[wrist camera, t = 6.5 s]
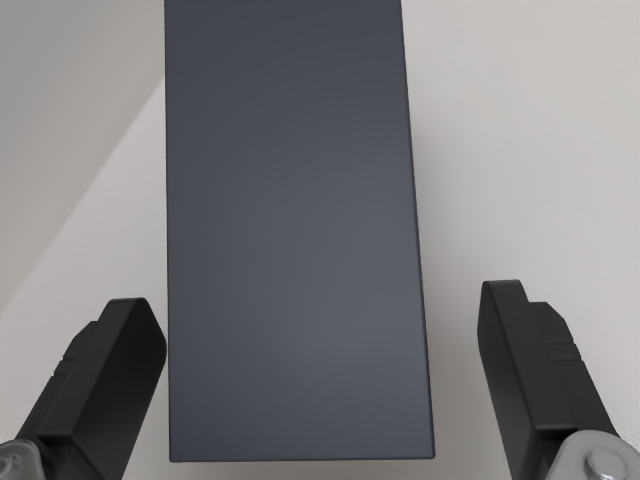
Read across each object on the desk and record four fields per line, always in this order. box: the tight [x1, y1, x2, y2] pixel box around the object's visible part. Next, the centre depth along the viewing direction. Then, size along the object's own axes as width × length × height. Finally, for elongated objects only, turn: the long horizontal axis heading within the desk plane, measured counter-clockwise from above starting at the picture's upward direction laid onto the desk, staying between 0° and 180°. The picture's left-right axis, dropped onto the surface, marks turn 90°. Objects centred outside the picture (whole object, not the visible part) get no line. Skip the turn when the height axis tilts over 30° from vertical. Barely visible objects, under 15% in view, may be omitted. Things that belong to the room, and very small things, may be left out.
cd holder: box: [164, 0, 436, 463], centre depth 14 cm, size 10×5×10 cm, turn 3°
